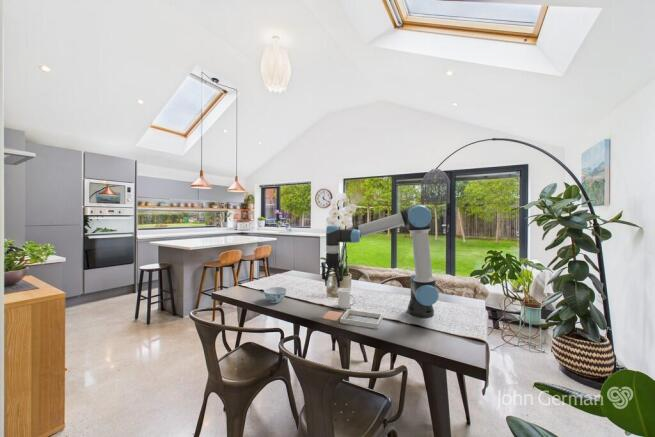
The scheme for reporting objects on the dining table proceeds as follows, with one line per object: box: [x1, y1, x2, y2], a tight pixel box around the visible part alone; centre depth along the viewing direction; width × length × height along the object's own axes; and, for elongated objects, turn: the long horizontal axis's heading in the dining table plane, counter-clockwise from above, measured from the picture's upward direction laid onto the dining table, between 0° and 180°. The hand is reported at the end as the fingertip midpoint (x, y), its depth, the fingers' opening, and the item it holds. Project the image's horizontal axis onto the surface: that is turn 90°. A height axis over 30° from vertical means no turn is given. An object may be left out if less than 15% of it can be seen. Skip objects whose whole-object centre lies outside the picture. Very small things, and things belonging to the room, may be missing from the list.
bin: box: [339, 308, 384, 330], centre depth 153 cm, size 21×15×2 cm
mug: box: [337, 287, 356, 309], centre depth 173 cm, size 9×12×11 cm
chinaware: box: [263, 286, 287, 304], centre depth 183 cm, size 15×15×8 cm
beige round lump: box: [326, 285, 338, 299], centre depth 158 cm, size 5×5×5 cm
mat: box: [321, 310, 344, 322], centre depth 159 cm, size 9×12×1 cm
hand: (332, 292), depth 158 cm, fingers closed on beige round lump, 5 cm apart
